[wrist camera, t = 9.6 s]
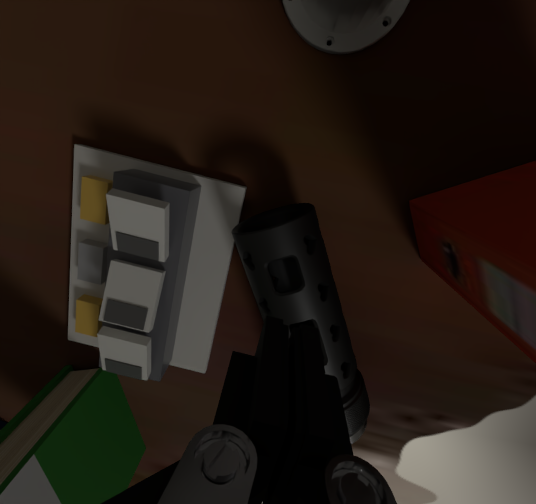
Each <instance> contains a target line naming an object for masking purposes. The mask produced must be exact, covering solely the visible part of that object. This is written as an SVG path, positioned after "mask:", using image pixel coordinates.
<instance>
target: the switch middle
mask: <svg viewBox="0 0 536 504" xmlns="http://www.w3.org/2000/svg"><path fill="white" fill-rule="evenodd" d="M165 272H166V271H163V270H159V269H155V268H151V267H147V266H143V265H139V264H135V263H131V262H127V261H123V260H119V259H114V260H111V263H110V267H109V272H108V277H107V282H106V287H105V291H104V296H103V301H102V306H101V311H100V315H99V321H103V322H107V323H111V324H115V325H119V326H123V327H127V328H132V329H136V330H140V331H144V332H148V333H149V332H150V331H151V330H152V329H153V326H154V321H155V317H156V312H157V308H158V303H159V299H160V295H161V290H162V286H163V281H164V277H165Z"/></svg>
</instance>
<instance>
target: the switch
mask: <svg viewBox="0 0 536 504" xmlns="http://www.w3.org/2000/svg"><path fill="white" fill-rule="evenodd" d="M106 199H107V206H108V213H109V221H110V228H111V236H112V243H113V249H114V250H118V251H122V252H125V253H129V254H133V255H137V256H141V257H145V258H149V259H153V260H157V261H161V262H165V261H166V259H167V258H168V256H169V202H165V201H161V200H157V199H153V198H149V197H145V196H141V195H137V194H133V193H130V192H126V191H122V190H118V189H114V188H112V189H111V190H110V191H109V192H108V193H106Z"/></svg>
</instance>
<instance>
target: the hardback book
mask: <svg viewBox="0 0 536 504" xmlns="http://www.w3.org/2000/svg"><path fill="white" fill-rule="evenodd" d="M145 449H146V447H145V445H144V442H143V440H142V437H141V434H140V432H139V429H138V427H137V424H136V422H135V419H134V417H133V414H132V412H131V409H130V407H129V404H128V402H127V399H126V397H125V394H124V392H123V389H122V387H121V384H120V382H119V379H118V377H117V374H115V373H111V372H107V371H106V370H102V367H100V368H97V369H88V370H79V371H74V370H73V367H72V365H66V366H65V367H64V368H63V369H62V370H61V371H60V372H59V373H58V374H57V375H56V376H55V377H54V378H53V379H52V380H51V381H50V382H49V383H48V384H47V385H46V386H45V387H44V388H43V389H42V390H41V391H40V392H39V393H38V394H37V395H36V396H35V397H34V398H33V399H32V400H31V401H30V402H29V403H28V404H27V405H26V406H25V407H24V408H23V409H22V410H21V411H20V412H19V413H18V414H17V415H16V416H15V417H14V418H12V419H11V420H10V421H9V422H8V423H7V424H6V425H5V426H4V427H3V428H2V429H1V430H0V504H101V503H103V502H104V501H106V500H108V499H110V498H112V497H114V496H115V495H117V494H119V493H121V492H123V491H124V490H126V489H127V488H128V485H129V483H130V481H131V479H132V477H133V475H134V473H135V471H136V468H137V466H138V464H139V462H140V460H141V458H142V456H143V454H144V451H145Z"/></svg>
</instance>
